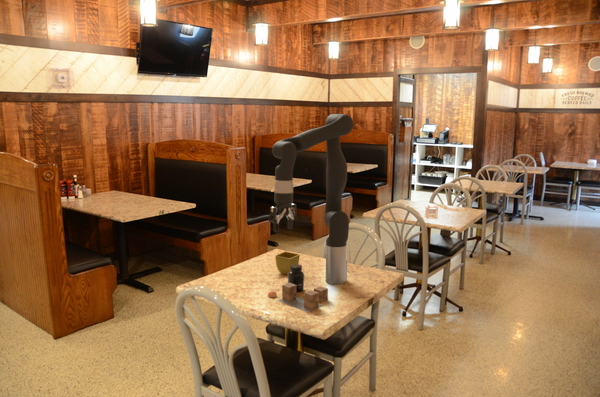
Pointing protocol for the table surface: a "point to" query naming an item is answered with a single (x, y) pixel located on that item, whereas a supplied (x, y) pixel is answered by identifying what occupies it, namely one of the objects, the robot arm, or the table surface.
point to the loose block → (322, 293)
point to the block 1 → (289, 292)
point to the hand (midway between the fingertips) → (283, 230)
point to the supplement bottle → (296, 277)
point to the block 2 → (311, 300)
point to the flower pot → (286, 261)
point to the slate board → (298, 304)
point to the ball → (272, 294)
